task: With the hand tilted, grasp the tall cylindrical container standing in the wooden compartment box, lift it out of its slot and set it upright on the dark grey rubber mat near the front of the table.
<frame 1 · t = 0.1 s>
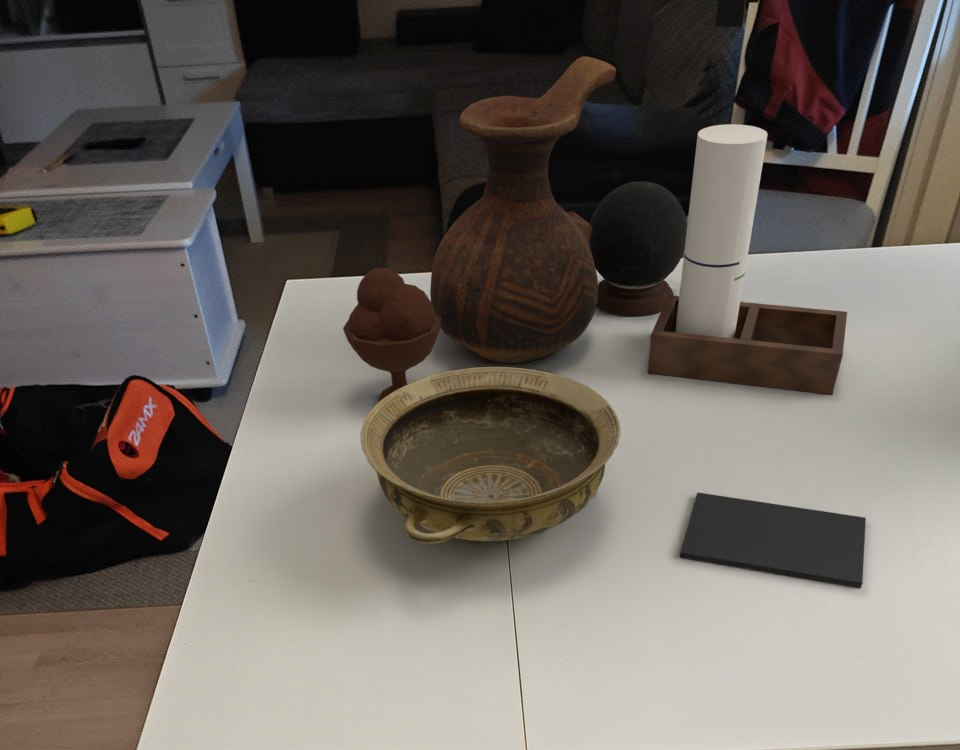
hand: (737, 14, 94), 34 cm above the table, tool pointing down, fingers open, 13 cm apart
black ball on stand: (632, 300, 123), on the table
wooden compartment box: (743, 361, 108), on the table
ice cream bowl: (401, 400, 106), on the table
ceramic bowl: (493, 514, 88), on the table
jug: (516, 342, 115), on the table
mat: (773, 539, 83), on the table
cylindrical container: (701, 358, 110), resting in wooden compartment box
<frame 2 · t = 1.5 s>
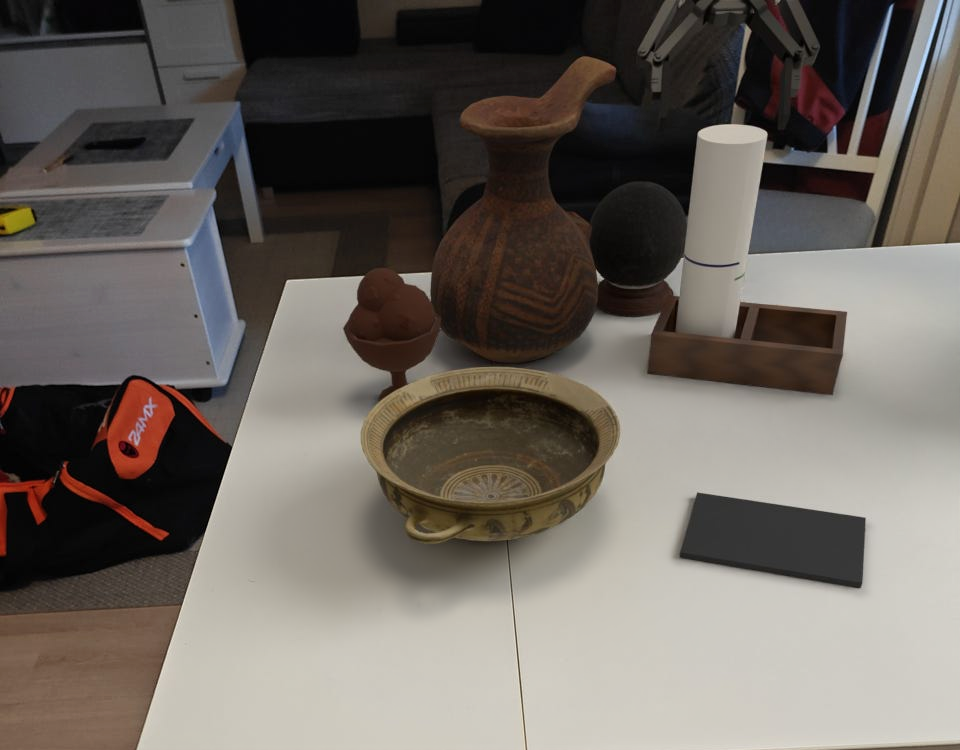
hand: (722, 124, 100), 23 cm above the table, tool tilted 45°, fingers open, 13 cm apart
nothing on the table moved.
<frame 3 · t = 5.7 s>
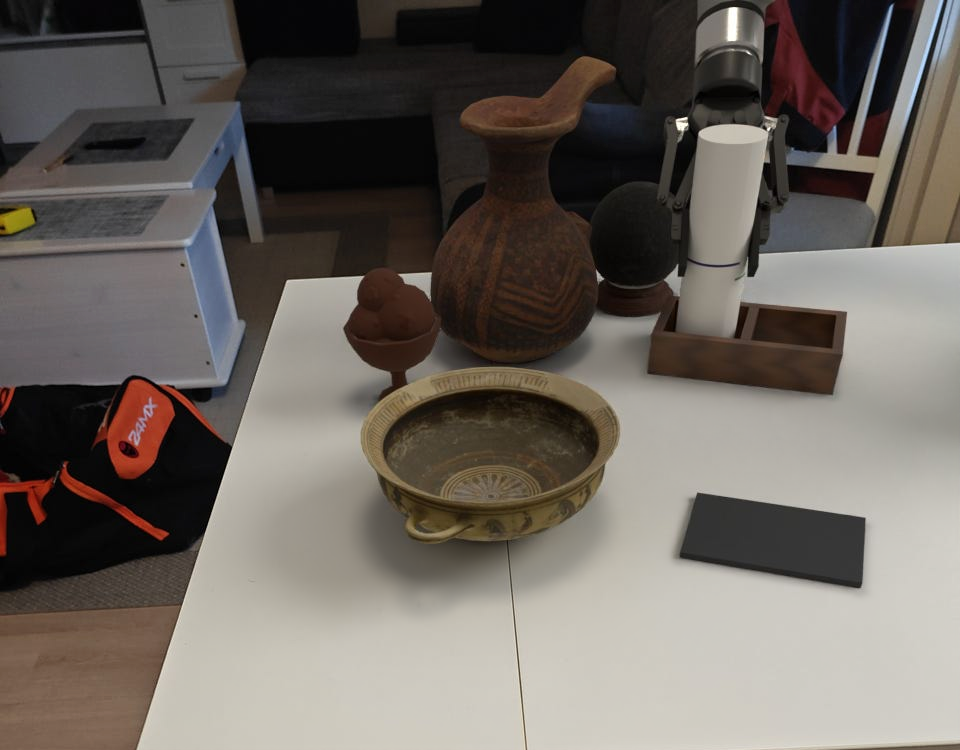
hand: (717, 271, 99), 12 cm above the table, tool tilted 45°, fingers closed on cylindrical container, 7 cm apart
cylindrical container: (701, 358, 110), resting in wooden compartment box, touching gripper
everything else where it was.
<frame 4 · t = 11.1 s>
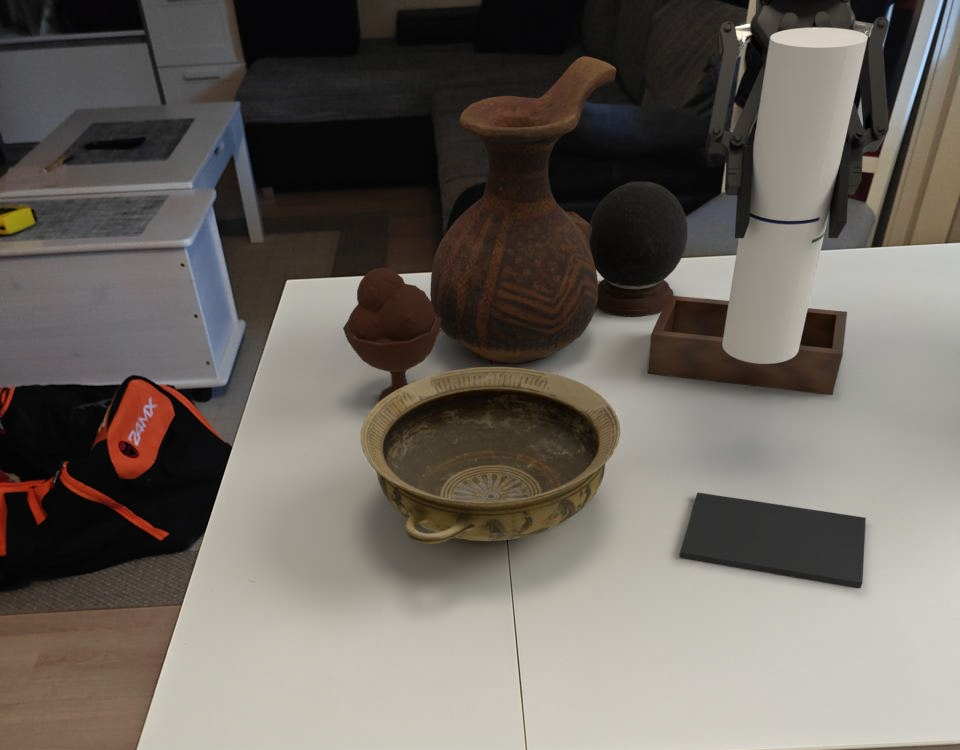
hand: (789, 230, 74), 24 cm above the table, tool tilted 45°, fingers closed on cylindrical container, 7 cm apart
cylindrical container: (759, 348, 85), point 12 cm above the table, touching gripper
everything else where it was.
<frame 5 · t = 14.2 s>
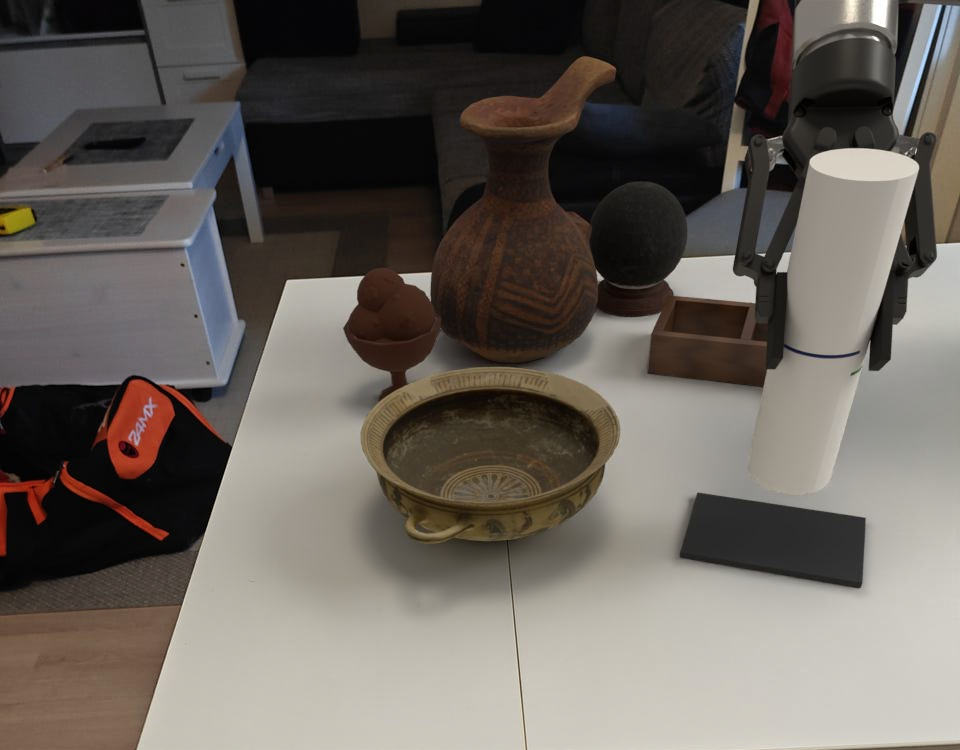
hand: (826, 364, 67), 20 cm above the table, tool tilted 45°, fingers closed on cylindrical container, 7 cm apart
cylindrical container: (788, 473, 78), point 7 cm above the table, touching gripper
everything else where it was.
when the fingers open (13 cm above the table, at t = 16.5 s): cylindrical container stays where it is, resting on mat.
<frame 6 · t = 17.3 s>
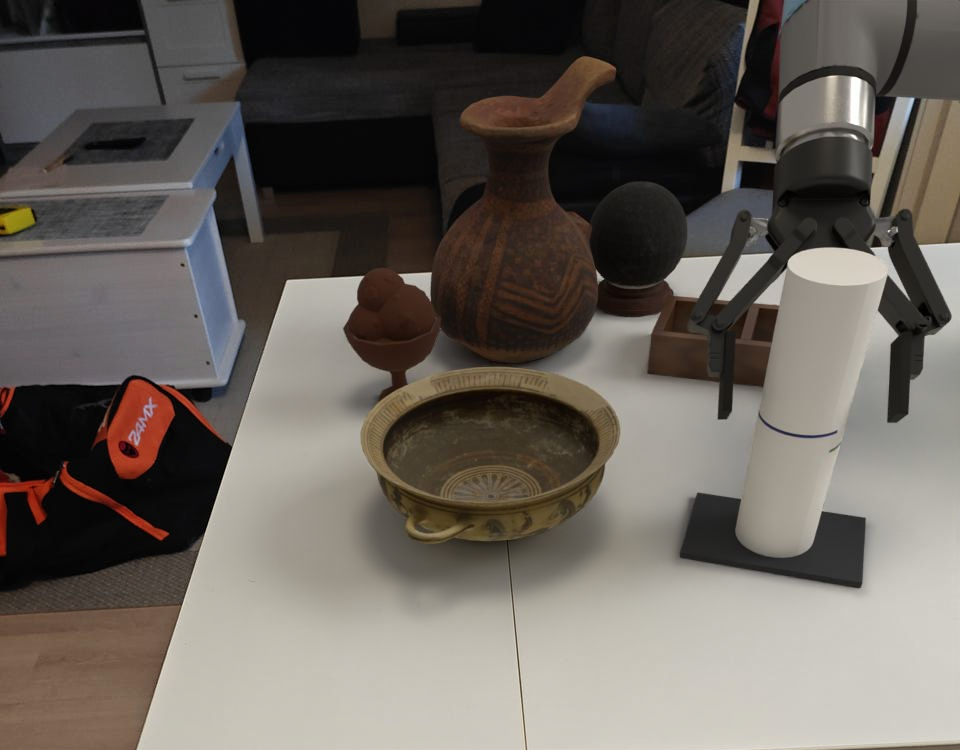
hand: (810, 417, 71), 14 cm above the table, tool tilted 45°, fingers open, 13 cm apart
cylindrical container: (773, 535, 83), resting on mat
everything else where it was.
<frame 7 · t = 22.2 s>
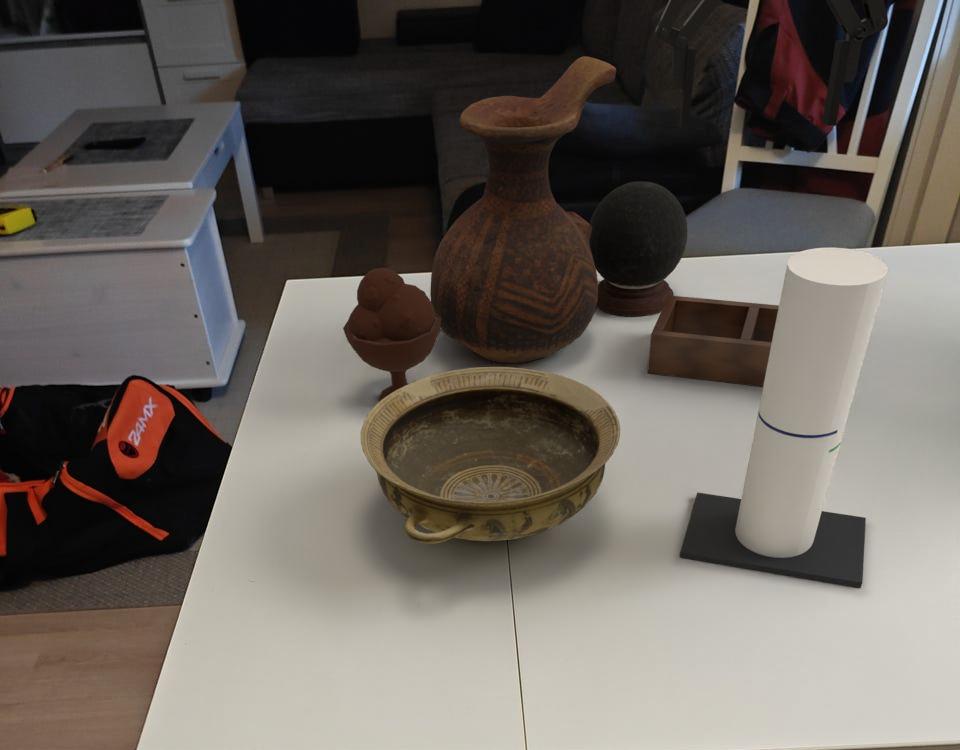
hand: (755, 126, 84), 28 cm above the table, tool pointing down, fingers open, 13 cm apart
nothing on the table moved.
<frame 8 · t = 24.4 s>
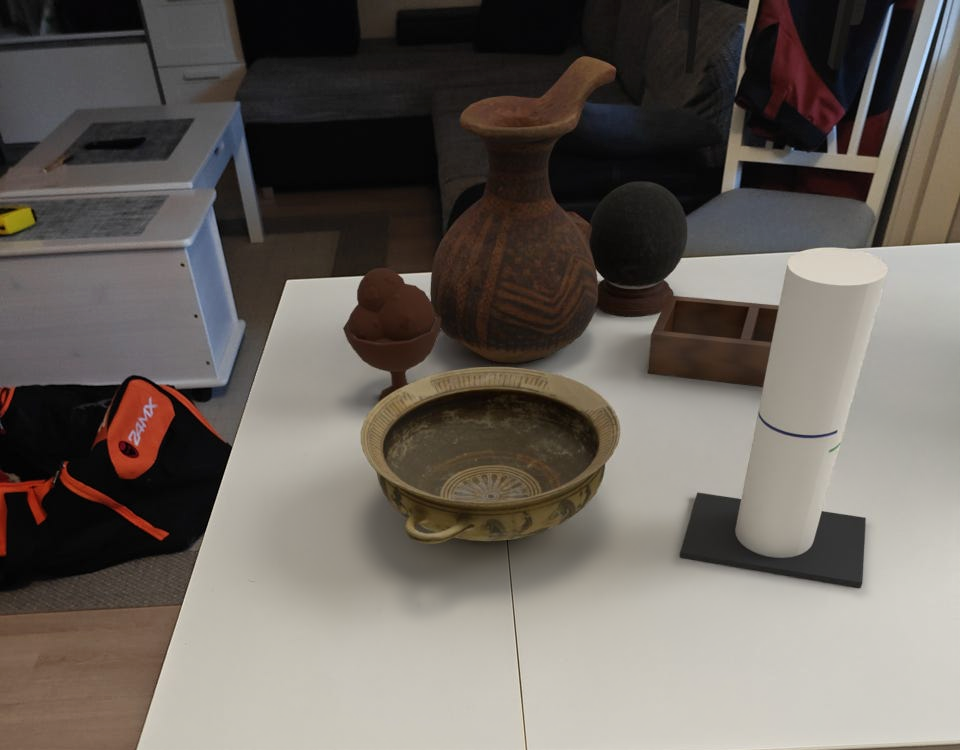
hand: (760, 68, 84), 32 cm above the table, tool pointing down, fingers open, 13 cm apart
nothing on the table moved.
at the end: cylindrical container inside the target area on the mat (0.1 cm from its centre), point 0.4 cm above the mat's base; cylindrical container tilted 0°; cylindrical container touching mat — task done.
